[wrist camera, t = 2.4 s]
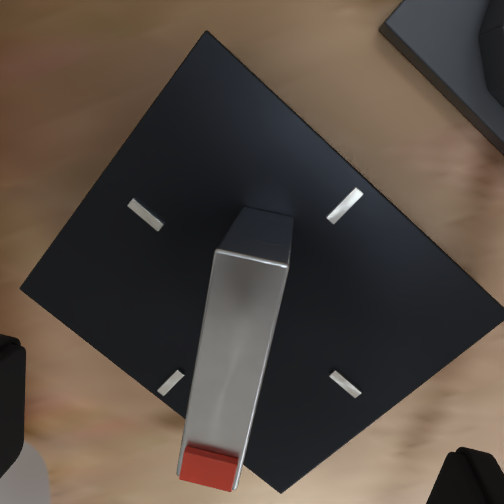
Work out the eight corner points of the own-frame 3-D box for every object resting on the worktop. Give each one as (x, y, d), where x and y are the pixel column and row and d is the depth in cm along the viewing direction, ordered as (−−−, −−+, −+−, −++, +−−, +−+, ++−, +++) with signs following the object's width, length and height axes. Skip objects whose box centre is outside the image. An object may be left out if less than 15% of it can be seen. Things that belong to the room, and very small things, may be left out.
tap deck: (59, 264, 19) (15, 290, 16) (223, 45, 16) (204, 27, 13) (283, 444, 21) (280, 498, 18) (477, 283, 17) (514, 317, 14)
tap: (243, 205, 14) (212, 251, 9) (294, 217, 14) (289, 268, 9) (210, 375, 17) (172, 483, 12) (255, 385, 17) (235, 499, 12)
